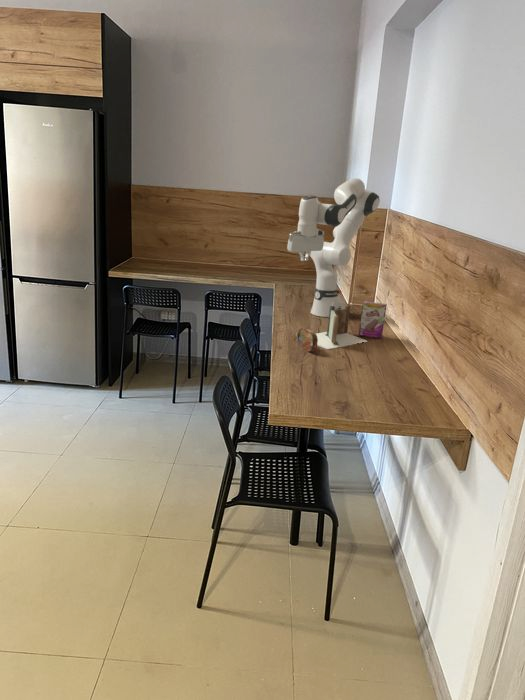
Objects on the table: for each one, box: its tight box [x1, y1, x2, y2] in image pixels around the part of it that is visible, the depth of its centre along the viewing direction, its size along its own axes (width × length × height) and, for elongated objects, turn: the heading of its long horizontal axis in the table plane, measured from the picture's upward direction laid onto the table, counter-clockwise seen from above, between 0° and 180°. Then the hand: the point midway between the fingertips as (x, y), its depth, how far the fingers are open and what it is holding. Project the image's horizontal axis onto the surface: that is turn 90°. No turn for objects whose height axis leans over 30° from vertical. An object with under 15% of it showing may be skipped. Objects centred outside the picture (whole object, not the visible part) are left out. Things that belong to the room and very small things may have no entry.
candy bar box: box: [358, 300, 388, 339], centre depth 255 cm, size 11×5×16 cm, turn 74°
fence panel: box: [329, 310, 338, 343], centre depth 243 cm, size 14×2×12 cm, turn 0°
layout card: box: [315, 331, 368, 350], centre depth 248 cm, size 26×20×1 cm
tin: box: [297, 327, 318, 353], centre depth 231 cm, size 15×3×8 cm, turn 21°
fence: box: [326, 305, 351, 336], centre depth 254 cm, size 13×2×14 cm, turn 127°
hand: (304, 260), depth 255 cm, fingers closed
